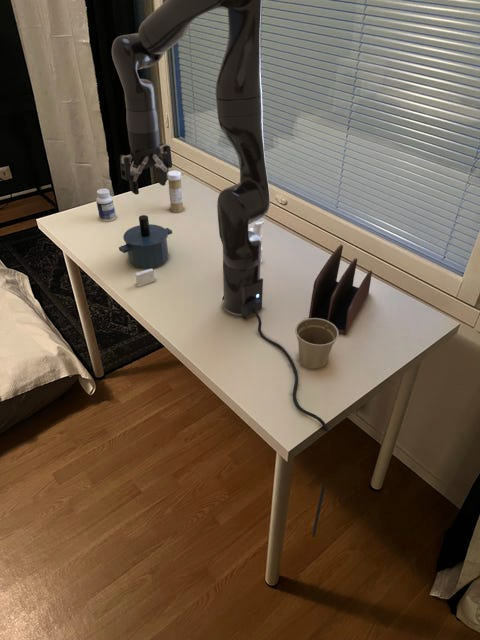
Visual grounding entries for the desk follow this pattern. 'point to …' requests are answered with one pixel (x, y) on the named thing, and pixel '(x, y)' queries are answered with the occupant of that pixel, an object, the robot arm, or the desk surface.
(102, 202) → the pill bottle
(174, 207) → the sprinkles bottle
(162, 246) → the pot
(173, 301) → the desk surface
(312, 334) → the flower pot
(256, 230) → the koala figurine
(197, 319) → the desk surface
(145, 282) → the eraser
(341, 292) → the letter holder
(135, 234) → the lid
